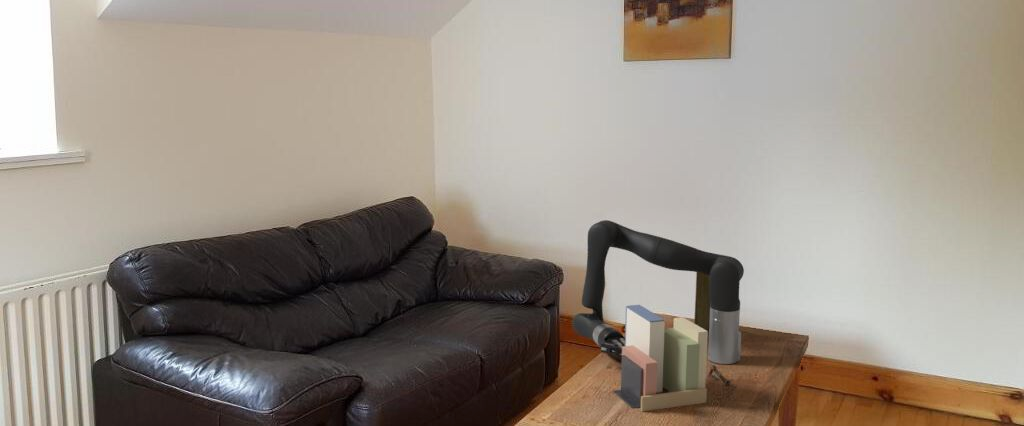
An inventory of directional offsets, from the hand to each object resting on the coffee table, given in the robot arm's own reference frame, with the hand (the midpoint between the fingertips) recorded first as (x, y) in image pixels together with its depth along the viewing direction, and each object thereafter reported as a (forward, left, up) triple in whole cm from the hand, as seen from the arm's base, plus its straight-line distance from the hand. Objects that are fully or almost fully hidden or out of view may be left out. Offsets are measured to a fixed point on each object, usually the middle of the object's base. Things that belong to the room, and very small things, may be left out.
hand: (631, 355), depth 260 cm
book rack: (-1, +18, -6) cm, 19 cm away
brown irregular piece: (-22, +13, -7) cm, 27 cm away
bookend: (+10, +17, -6) cm, 21 cm away
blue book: (0, +8, -6) cm, 10 cm away
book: (-42, -29, -6) cm, 51 cm away
